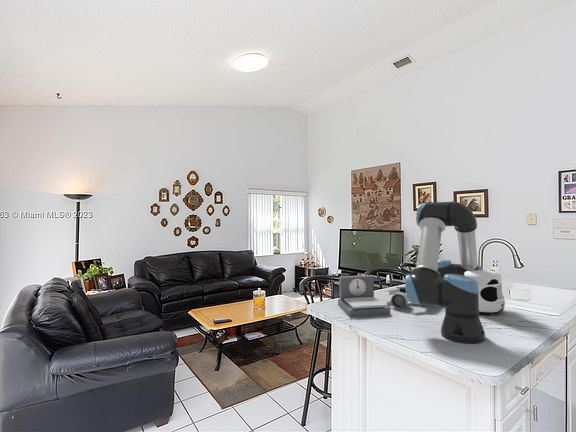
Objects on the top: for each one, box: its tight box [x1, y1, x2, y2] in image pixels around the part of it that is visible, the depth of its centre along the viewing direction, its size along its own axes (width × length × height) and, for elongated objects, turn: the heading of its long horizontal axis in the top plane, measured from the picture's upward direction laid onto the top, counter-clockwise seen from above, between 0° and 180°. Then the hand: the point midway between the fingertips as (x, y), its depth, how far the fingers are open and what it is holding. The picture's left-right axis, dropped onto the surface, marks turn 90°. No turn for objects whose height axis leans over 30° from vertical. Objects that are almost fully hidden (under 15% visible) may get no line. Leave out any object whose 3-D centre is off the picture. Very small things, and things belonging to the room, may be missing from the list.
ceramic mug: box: [385, 292, 409, 310], centre depth 169 cm, size 11×8×8 cm
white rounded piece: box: [464, 269, 506, 315], centre depth 158 cm, size 17×17×18 cm
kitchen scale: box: [337, 274, 391, 318], centre depth 166 cm, size 22×20×15 cm
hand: (397, 295), depth 168 cm, fingers open, 13 cm apart
